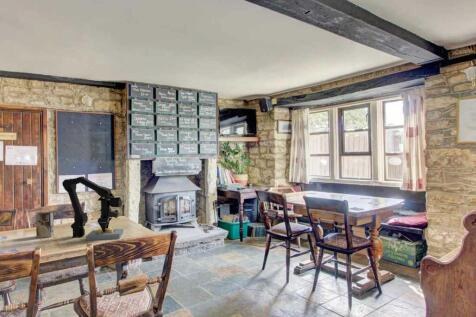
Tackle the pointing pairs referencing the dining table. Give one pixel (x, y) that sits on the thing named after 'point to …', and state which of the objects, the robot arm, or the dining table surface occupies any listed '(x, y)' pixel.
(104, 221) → the robot arm
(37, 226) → the coffee box
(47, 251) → the dining table surface
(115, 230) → the keyed plate
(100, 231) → the bar
